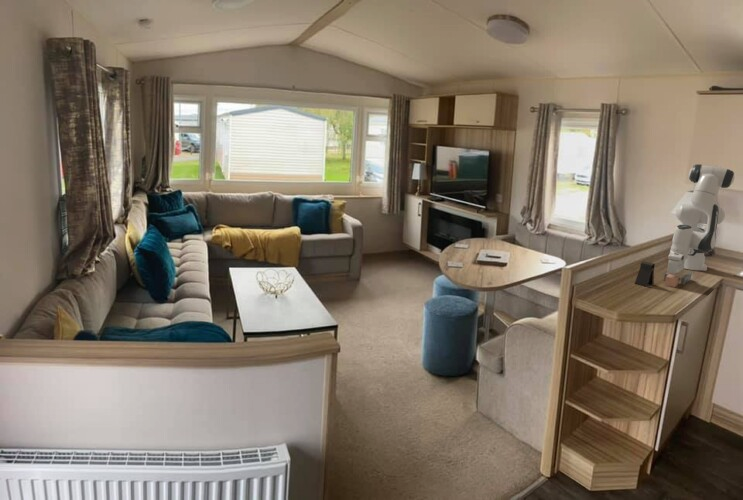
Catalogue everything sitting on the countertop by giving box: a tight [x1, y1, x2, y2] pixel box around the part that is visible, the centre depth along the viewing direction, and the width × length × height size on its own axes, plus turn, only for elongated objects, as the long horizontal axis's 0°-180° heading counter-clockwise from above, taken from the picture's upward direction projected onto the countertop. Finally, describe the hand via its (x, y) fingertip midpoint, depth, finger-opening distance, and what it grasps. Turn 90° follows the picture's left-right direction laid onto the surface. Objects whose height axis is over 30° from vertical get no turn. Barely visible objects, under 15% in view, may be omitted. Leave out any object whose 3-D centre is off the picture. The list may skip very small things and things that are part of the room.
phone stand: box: [634, 260, 655, 287], centre depth 299 cm, size 9×6×12 cm, turn 127°
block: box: [664, 274, 680, 288], centre depth 302 cm, size 8×5×5 cm, turn 143°
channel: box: [663, 271, 693, 285], centre depth 313 cm, size 16×10×4 cm, turn 138°
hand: (674, 279), depth 308 cm, fingers closed
